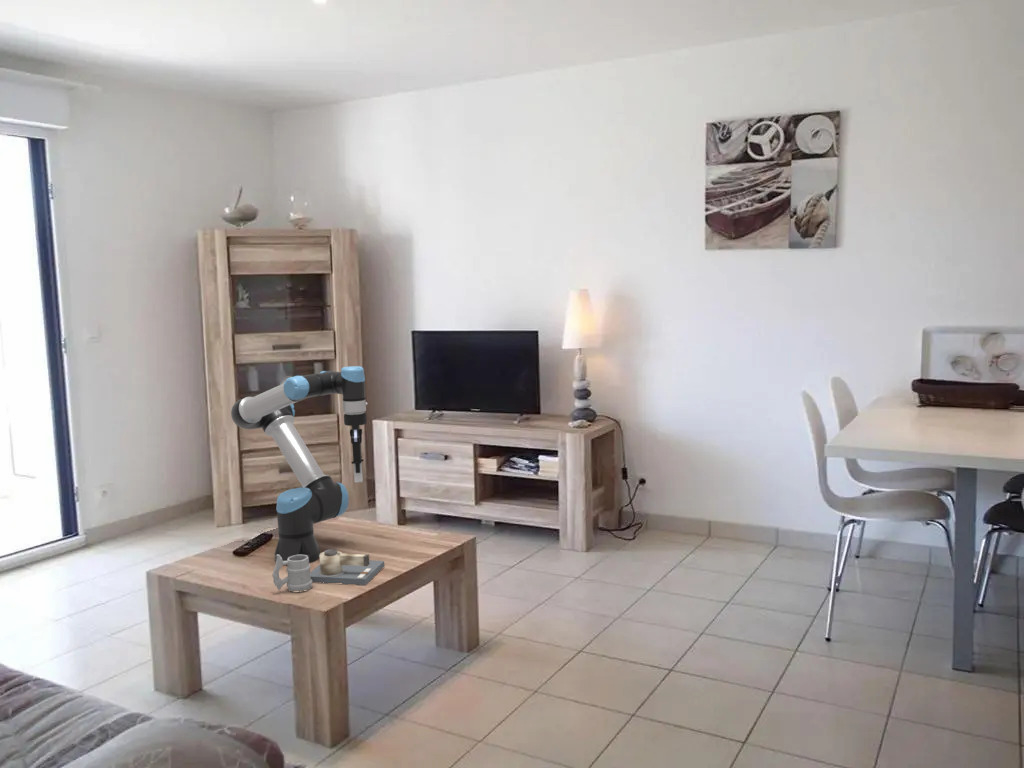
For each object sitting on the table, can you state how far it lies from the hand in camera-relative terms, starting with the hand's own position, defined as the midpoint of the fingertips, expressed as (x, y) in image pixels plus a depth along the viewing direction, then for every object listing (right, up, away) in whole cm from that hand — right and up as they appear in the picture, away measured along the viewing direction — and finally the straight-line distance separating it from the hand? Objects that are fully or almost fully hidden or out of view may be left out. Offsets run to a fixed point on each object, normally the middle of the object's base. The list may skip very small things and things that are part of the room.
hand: (358, 481), depth 286 cm
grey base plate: (-2, -28, -13) cm, 31 cm away
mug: (-15, -31, -26) cm, 43 cm away
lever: (-1, -27, -18) cm, 32 cm away
